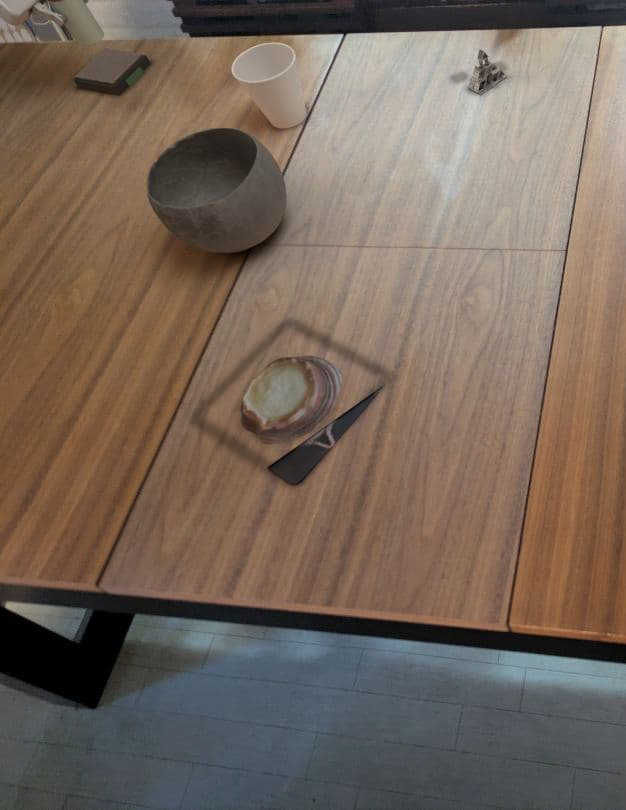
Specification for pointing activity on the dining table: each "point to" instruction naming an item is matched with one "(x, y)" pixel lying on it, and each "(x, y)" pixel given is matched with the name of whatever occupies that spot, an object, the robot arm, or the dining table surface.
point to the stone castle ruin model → (485, 75)
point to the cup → (272, 82)
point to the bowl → (218, 190)
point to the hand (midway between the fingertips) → (75, 12)
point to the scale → (112, 71)
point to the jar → (79, 21)
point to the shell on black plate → (297, 411)
